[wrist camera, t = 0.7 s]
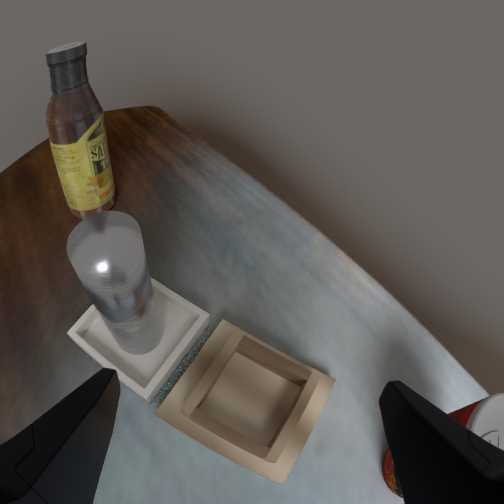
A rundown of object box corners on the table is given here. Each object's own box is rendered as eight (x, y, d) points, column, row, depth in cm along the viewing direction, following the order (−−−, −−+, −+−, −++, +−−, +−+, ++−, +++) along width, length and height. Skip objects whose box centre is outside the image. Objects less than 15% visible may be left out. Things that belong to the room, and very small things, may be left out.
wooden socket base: (278, 483, 18) (289, 486, 16) (156, 415, 21) (150, 409, 18) (330, 383, 24) (345, 372, 22) (221, 324, 27) (224, 307, 24)
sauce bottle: (116, 219, 33) (90, 47, 17) (67, 226, 31) (23, 64, 16) (118, 184, 36) (102, 34, 21) (74, 190, 35) (45, 46, 19)
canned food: (377, 433, 22) (461, 403, 13) (441, 419, 23) (523, 382, 14) (380, 509, 17) (469, 513, 8) (446, 486, 18) (533, 470, 9)
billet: (142, 364, 23) (101, 287, 13) (104, 335, 24) (52, 246, 14) (172, 326, 25) (157, 231, 16) (135, 300, 26) (105, 201, 17)
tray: (150, 403, 21) (146, 399, 20) (73, 341, 23) (66, 333, 22) (209, 323, 27) (209, 314, 25) (133, 274, 29) (130, 263, 27)
